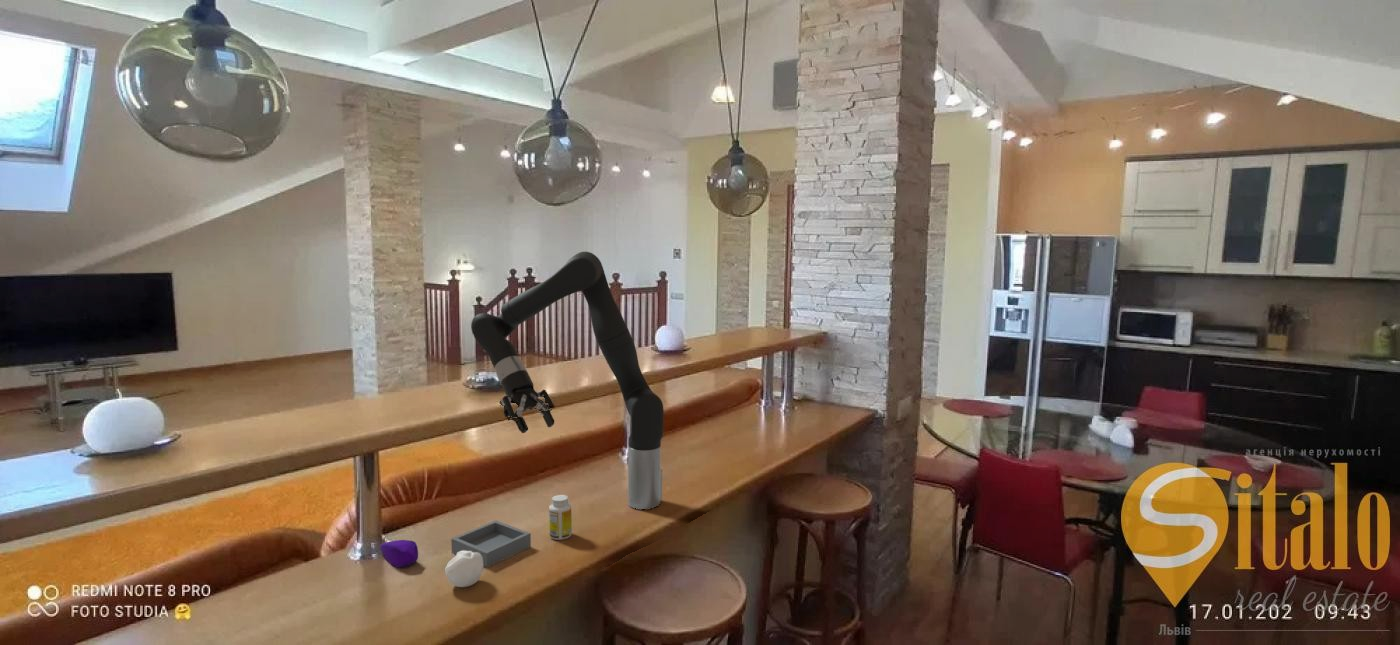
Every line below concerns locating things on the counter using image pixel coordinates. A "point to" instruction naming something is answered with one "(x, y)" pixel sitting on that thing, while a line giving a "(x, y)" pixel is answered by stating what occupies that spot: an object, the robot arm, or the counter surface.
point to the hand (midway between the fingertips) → (538, 428)
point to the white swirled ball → (464, 568)
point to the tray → (493, 542)
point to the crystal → (400, 552)
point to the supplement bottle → (560, 518)
